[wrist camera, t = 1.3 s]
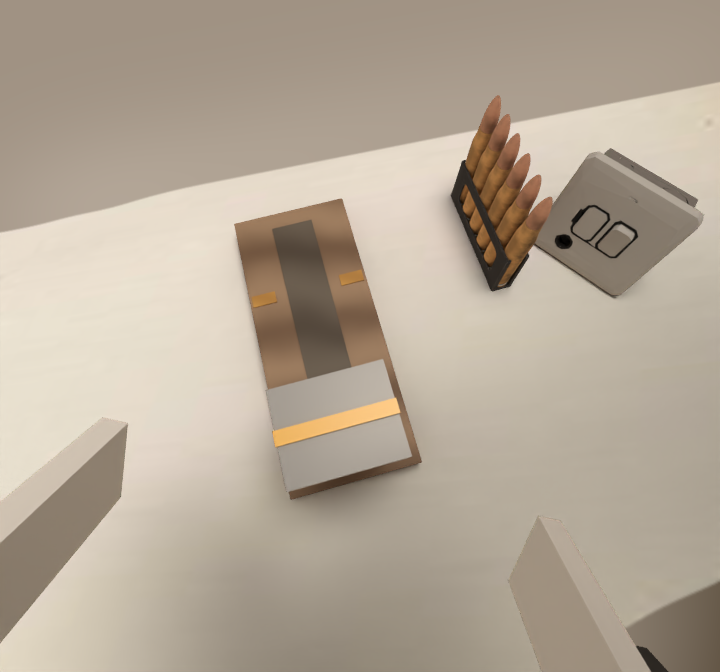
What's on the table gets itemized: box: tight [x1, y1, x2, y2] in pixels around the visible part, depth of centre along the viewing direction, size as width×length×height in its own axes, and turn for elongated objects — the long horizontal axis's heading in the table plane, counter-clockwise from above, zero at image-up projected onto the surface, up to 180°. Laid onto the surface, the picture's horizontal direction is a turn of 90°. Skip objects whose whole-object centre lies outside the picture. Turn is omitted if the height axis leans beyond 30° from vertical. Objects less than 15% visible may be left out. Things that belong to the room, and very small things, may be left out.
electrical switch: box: [535, 148, 704, 295], centre depth 35 cm, size 9×5×9 cm, turn 49°
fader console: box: [234, 199, 422, 499], centre depth 36 cm, size 24×10×2 cm, turn 15°
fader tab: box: [266, 359, 412, 492], centre depth 27 cm, size 5×6×11 cm
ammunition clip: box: [451, 96, 553, 291], centre depth 34 cm, size 11×2×12 cm, turn 16°
